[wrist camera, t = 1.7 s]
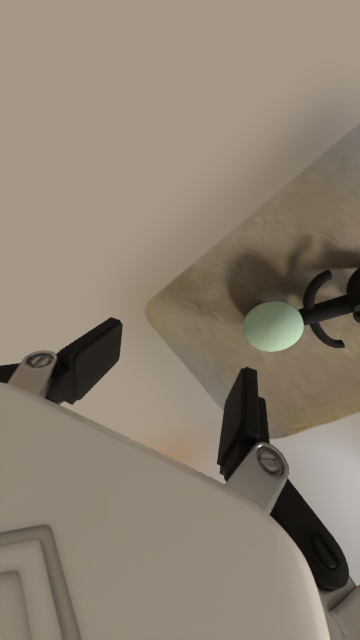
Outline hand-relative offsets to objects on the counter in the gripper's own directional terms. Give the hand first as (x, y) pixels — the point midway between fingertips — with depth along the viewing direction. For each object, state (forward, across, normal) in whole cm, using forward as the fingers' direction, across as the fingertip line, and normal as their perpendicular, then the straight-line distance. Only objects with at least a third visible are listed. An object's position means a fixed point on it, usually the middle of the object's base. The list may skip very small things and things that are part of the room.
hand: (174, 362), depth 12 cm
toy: (+18, -12, 0) cm, 21 cm away
